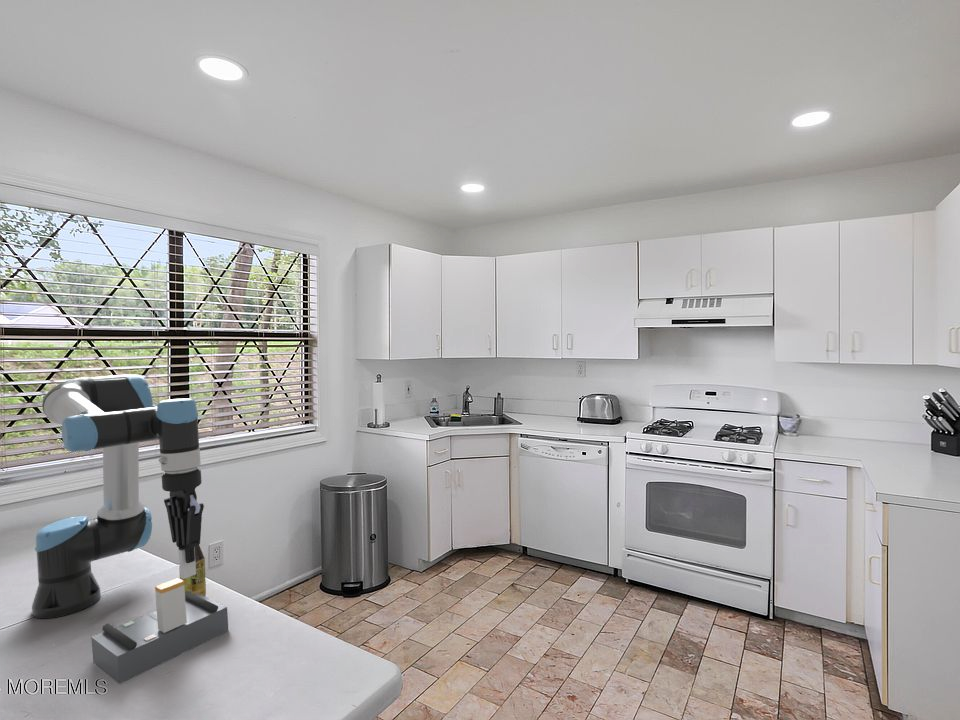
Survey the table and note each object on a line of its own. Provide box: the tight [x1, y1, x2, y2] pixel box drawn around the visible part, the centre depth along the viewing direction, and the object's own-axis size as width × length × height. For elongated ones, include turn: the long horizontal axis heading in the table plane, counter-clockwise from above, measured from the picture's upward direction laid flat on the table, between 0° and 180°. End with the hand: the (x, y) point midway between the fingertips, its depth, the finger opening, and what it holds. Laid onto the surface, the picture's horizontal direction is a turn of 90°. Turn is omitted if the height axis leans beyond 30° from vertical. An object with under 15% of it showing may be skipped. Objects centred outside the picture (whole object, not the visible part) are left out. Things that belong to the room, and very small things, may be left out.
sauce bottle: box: [178, 544, 207, 597], centre depth 147 cm, size 7×6×20 cm
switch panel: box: [90, 593, 229, 685], centre depth 126 cm, size 14×24×6 cm, turn 145°
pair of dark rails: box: [101, 591, 218, 650], centre depth 126 cm, size 14×20×2 cm
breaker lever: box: [154, 577, 187, 633], centre depth 122 cm, size 3×5×10 cm, turn 145°
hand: (188, 575), depth 117 cm, fingers closed
